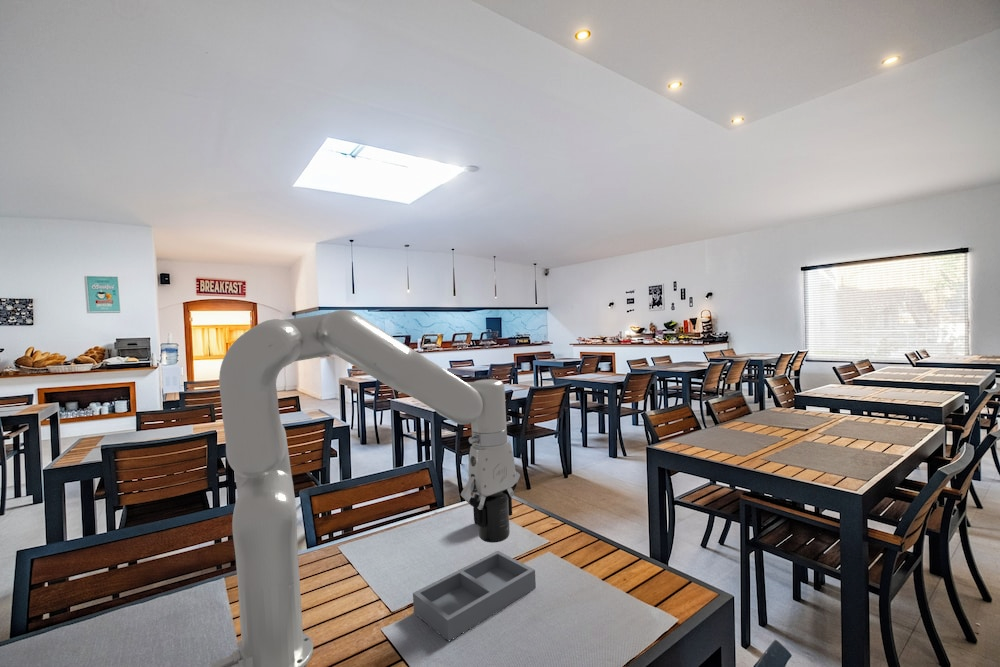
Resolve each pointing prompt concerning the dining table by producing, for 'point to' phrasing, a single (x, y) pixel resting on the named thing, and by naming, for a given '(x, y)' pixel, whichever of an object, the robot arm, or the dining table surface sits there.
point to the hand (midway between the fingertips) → (493, 518)
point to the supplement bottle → (495, 518)
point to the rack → (473, 593)
